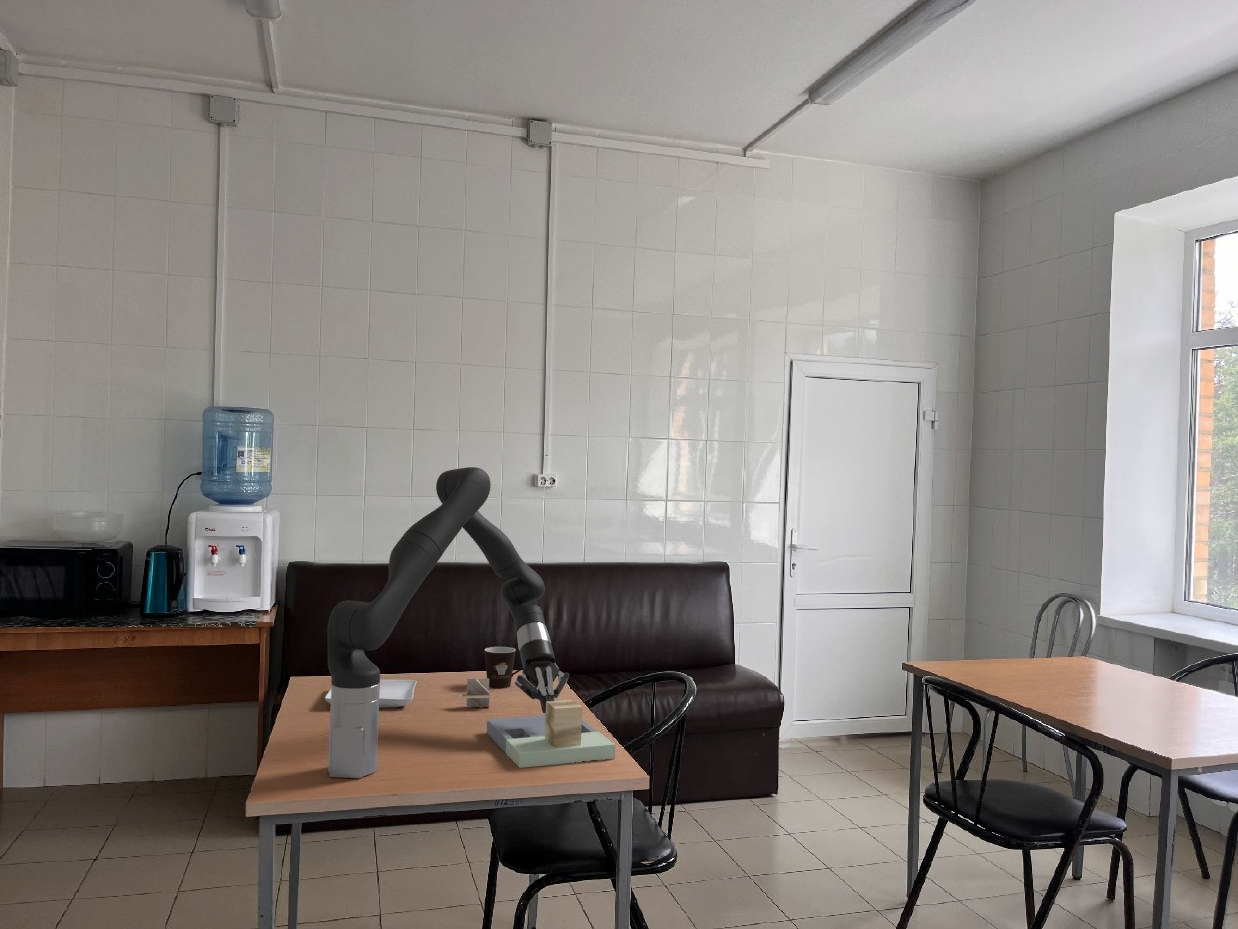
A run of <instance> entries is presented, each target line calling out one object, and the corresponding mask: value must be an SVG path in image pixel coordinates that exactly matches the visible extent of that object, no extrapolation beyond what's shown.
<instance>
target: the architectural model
mask: <svg viewBox="0 0 1238 929" xmlns="http://www.w3.org/2000/svg"><path fill="white" fill-rule="evenodd" d="M466 680H467V681H466V682H467V683H466V684H467V685H466V693H461V699H466V708H480V709H483V708H486V707H487V708H488V709H490V704H491V703H490V702H491V701H490V700H491V698H490V696H491V695H490V694H491V693H490V687H489V679H487V678H467V679H466Z"/></svg>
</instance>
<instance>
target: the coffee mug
mask: <svg viewBox="0 0 1238 929" xmlns="http://www.w3.org/2000/svg"><path fill="white" fill-rule="evenodd" d="M516 651H517V650H516V648H514V647H509V646H508V647H507V646H491V647H486V648H485V649H484V660H485V672H486V674H485V675H486V679H489V689H490V688H491V689H499V690H500V689H507V688H511V684H512V679H513V676H514V675H516V674H518V673H519V672H521V671H523V666H521V667H520V668H519V669H517V670H515V671H514V665H515V662H516V660H517V659H518V658H519V657H521V656H520V653H518V654H516ZM513 671H514V672H513Z"/></svg>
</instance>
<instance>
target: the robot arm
mask: <svg viewBox="0 0 1238 929" xmlns="http://www.w3.org/2000/svg"><path fill="white" fill-rule="evenodd" d="M435 483H436V484H435V490H436V495H437V497H438V500H439V501H440V503H441V505H439V506H438V507H437V508H435V509H434V510H432V511H431V512H429V513H428V514H425V516H423V517H422V518H420V519H419V520H418V521H416V522H415V523H414V524H413V525H411V526H410V527H409V528H408V529H407V530H406V531H405V532H404V534H403V535H402V536H401V537H400V539H399V540H398V541H397V542H396V544H395V545H394V547H393V548H392V550H391V552H390V555H389V560H388V561H389V562H388V579H387V582H386V583H385V586H384V587H383V589H382V590H381V592H380V593H379V594H378V595H377V597H375V598H374V600H372V601H371V602H368V601H367V602H366V601H359V600H350V599H349V600H343V601H340V602H338V603H337V604H336V605H335V606H334V608H333V609H332V611H331V612H330V616H329V619H328V623H327V667H328V670H329V673H330V677H331V681H330V682H331V687H330V689H331V704H330V710H329V711H330V713H329V715H330V716H329V739H328V741H329V742H328V767H327V768H328V769H327V770H328V772H327V773H328V774H329V777H330V778H346V779H347V778H349V779H362V778H363V777H365V776H369V775H371V774H372V775H373V774H374V773H375V772H377V769H378V748H379V747H378V740H379V738H378V737H379V719H380V717H379V715H380V714H379V712H380V708H379V693H380V679H381V670H380V668H379V667H378V666H377V665H376V664H374V663H373V662H372V661H371V660H370V659H369V658H368V657H367V655H366V654H365V651H370V652H371V651H375V650H377V649H379V648H380V647H381V646H382V645H384V644H385V642H386V641H387V640H388V638H389V637H390V636H391V635H392V633H393V631H394V628H395V627H396V626H397V624H398V621H399V620H400V618H401V616H402V615H403V613H404V611H405V609H406V608H407V606H408V604H409V603H410V601H411V600H412V598H413V597H414V595H415V594H416V592H417V591H418V590H419V589H420V586H421V585H422V583H423V582H424V580H425V579H426V578H427V576H429V574H430V573H431V571H432V570H433V569H434V567H435V566H436V565H437V563H438V562H439V560H440V559H441V558H442V556H443V554H444V553H445V552H446V551H447V548H448V547H449V546H450V545H451V543H452V542H453V541H454V539H455V538H456V537H457V536H458V534H459V533H460V531H461V530H462V529H463V530H464V531H465V532H466V533H467V534H468V535H469V537H470V538H471V539H472V540H473V541H474V543H475V544H476V545H477V546H478V548H479V549H480V551H481V552H482V554H483V555H484V557H485V559H486V561H487V562H488V564H489V565H490V567H491V569H492V570H493V572H494V573H495V575H496V576H497V577H498V578H499V579H509V580H506V581H505V582H504V583H503V584H502V586H501V587H500V588H501V589H500V595H501V599H502V600H503V602H504V603H505V605H506V607H507V608H508V610H509V611H510V613H511V616H512V619H513V621H514V626H515V629H516V636H517V645H518V650H519V654H520V656H519V657H520V660H521V665H522V667H523V669H522V672H521V674H519V675H517V677H516V679H515V682H514V685H515V686H516V687H517V688H519V689H520V690H521V691H522V692H523V693H524V694H526V695H527V696H528V697H529V698H530V699H532V700H535V699H536V700H538V701H539V702H540V708H541V711H542V713H543V714H544V715H546V702H548V701H555V699H558V697H559V696H560V694H561V692H562V691H563V688H564V687H565V686H566V684H567V681H568V680H569V678H570V675H571V674H570V673H569V672H563V671H561V670H560V668H559V666H558V665H557V664H556V663H557V662H556V658H555V653H554V650H553V646H552V641H551V637H550V634H549V631H548V629H547V625H546V621H545V616H544V615H545V614H544V613H543V610H542V608H541V607H540V606H539V605H537V604H531V603H533V602H536V601H538V600H540V599H541V598H543V596H544V594H545V592H546V587H545V586H546V585H545V582H544V580H543V579H542V577H541V576H540V575H539V573H537V572H536V571H535V570H534V569H533V568H531V567H530V565H528V564H527V563H526V562H525V561H524V560H523V559H522V557H521V556H520V554H519V553H518V551H517V549H516V547H515V546H514V545H513V543H512V541H511V540H510V538H509V537H508V536H507V535H506V534H505V532H503V531H502V530H501V529H500V528H499V527H497V526H496V525H494V523H492V522H490V521H489V520H488V519H487V518H486V517H485V516H484V515H482V514H481V512H480V511H479V510H480V508H481V507H483V506H484V504H485V503H486V502H487V499H488V498H489V495H490V493H491V485H492V484H491V478H490V476H489V474H488V473H487V472H486V471H485V470H484V469H483V468H480V467H476V466H473V467H472V466H469V467H463V468H462V467H461V468H454V469H449V470H444V471H443V472H442V473H441V474H440V475H439V476H438V478H437V480H436V482H435ZM510 578H512V579H510ZM556 678H557V681H558V684H557V685H556V688H554V683H555V680H556Z"/></svg>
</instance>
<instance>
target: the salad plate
mask: <svg viewBox="0 0 1238 929" xmlns="http://www.w3.org/2000/svg"><path fill="white" fill-rule="evenodd" d="M417 683H418V682H417V680H415V679H381V678H380V693H379V709H380V708H383V709H384V708H399V707H400V708H401V707H405V706H407V705H409V704H410V703H411V702H412V701H413V699H414V695H415V688H416V685H417ZM324 700H325V701H326V702H327V703H329V704H330V705H331V688H330V690H329V691H328V692H327V694H326V695H325V696H324Z"/></svg>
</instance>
